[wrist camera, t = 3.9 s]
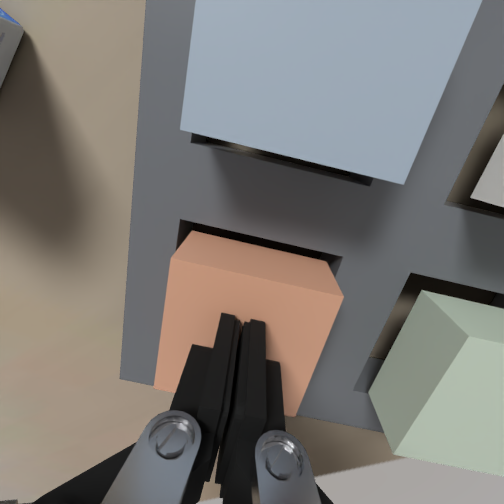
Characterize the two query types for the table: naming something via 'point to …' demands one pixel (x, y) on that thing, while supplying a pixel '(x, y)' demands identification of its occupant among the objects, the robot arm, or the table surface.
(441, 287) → the table surface
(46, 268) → the table surface
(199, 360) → the robot arm
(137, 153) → the keypad base
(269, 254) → the terracotta key
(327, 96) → the slate key
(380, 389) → the sage key
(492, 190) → the white key
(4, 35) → the medicine box
